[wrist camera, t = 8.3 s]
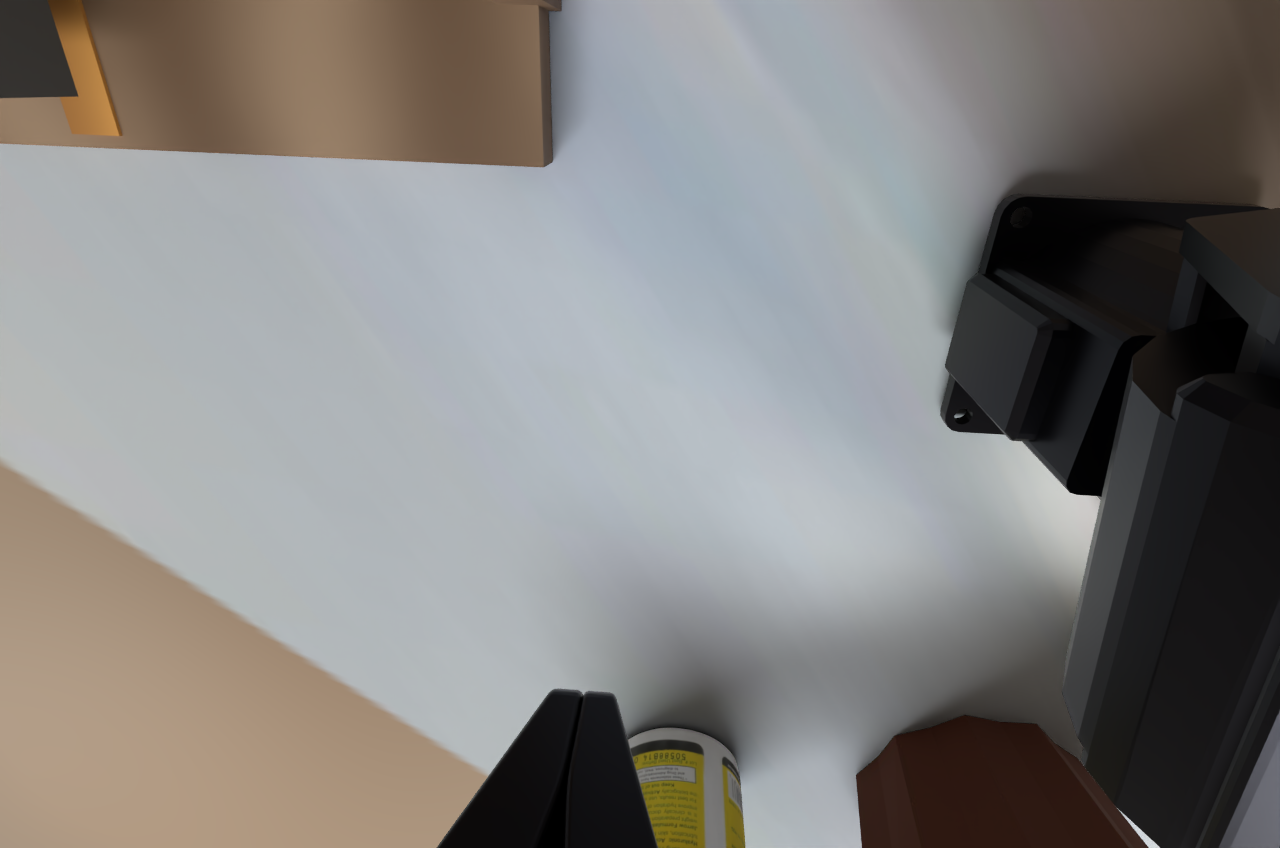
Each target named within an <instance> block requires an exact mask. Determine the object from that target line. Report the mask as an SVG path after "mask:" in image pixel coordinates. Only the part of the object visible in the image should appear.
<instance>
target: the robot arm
mask: <svg viewBox="0 0 1280 848" xmlns="http://www.w3.org/2000/svg"><path fill="white" fill-rule="evenodd" d="M1021 207H1023V208H1024V209H1025V216H1024V217H1023V219H1022V221H1020V222H1019V223H1018V224H1015V225H1012V224H1011V216H1012V214H1013V212H1014V211H1015V210H1017V209H1018V208H1021ZM945 368H946V369H947V370H948V372H949V373H950V377H949V381H948V384H947V388H946V391H945V395H944V399H943V402H942V406H941V413H940V415H941V418H942V420H943V421H944V423H945V424H946V425H947V427H949V428H950V429H951V430H953V431H957V432H970V433H987V434H1004V435H1006V436H1007V437H1008V438H1009V439H1010V440H1012V441H1022V442H1023V443H1024V444H1025V445H1026V446H1027V447H1028V448H1029V449H1030V450H1031V452H1032V453H1033V454H1034V455H1035V456H1036V457H1037V458H1038V459H1039V460H1040V461H1041V462H1042V463H1043V464H1044V465H1045V466H1046V468H1047V469H1048V470H1049V471H1050V472H1051V473H1052V474H1053V475H1054V476H1055V477H1056V478H1057V479H1058V480H1059V481H1060V482H1061V484H1062V485H1063V486H1064V487H1065V488H1066V489H1067V490H1068V491H1069V492H1070V493H1073V494H1076V495H1091V496H1097V497H1098V498H1099V499H1100V500H1101V501H1100V506H1099V510H1098V515H1097V519H1096V524H1095V528H1094V533H1093V537H1092V542H1091V546H1090V551H1089V555H1088V560H1087V564H1086V569H1085V573H1084V578H1083V582H1082V587H1081V592H1080V596H1079V601H1078V605H1077V610H1076V614H1075V619H1074V623H1073V628H1072V632H1071V637H1070V641H1069V646H1068V650H1067V655H1066V662H1065V671H1064V680H1063V689H1062V694H1063V697H1064V700H1065V702H1066V705H1067V708H1068V711H1069V714H1070V717H1071V720H1072V722H1073V725H1074V728H1075V731H1076V734H1077V737H1078V739H1079V740H1080V742H1081V744H1082V745H1083V747H1084V749H1083V753H1082V758H1081V759H1082V761H1083V764H1084V766H1085V768H1086V769H1087V771H1088V772H1089V773H1090V774H1091V776H1092V777H1093V778H1094V780H1095V781H1096V782H1097V783H1098V785H1099V786H1100V787H1101V788H1102V790H1103V791H1104V792H1105V794H1106V795H1107V796H1108V797H1109V799H1110V800H1111V801H1112V803H1113V804H1114V805H1115V806H1116V807H1117V808H1118V809H1119V810H1120V811H1121V812H1122V813H1124V814H1125V815H1126V816H1127V817H1128V818H1129V819H1130V820H1131V821H1132V822H1133V823H1134V824H1135V825H1137V826H1138V827H1139V828H1140V829H1141V830H1142V831H1143V832H1144V833H1145V834H1146V835H1147V836H1148V837H1150V838H1151V839H1152V840H1153V841H1154V842H1155V843H1156V844H1157V845H1158V846H1159V847H1160V848H1280V208H1274V209H1268V208H1265V207H1261V206H1256V205H1251V204H1237V203H1214V202H1191V201H1169V200H1146V199H1123V198H1101V197H1078V196H1055V195H1033V194H1017V195H1011V196H1009V197H1008V198H1006V199H1004V200H1003V201H1002V202H1001V203H1000V204H999V205H998V206H997V209H996V211H995V213H994V216H993V219H992V223H991V227H990V230H989V234H988V238H987V241H986V245H985V249H984V252H983V256H982V260H981V263H980V267H979V271H978V273H977V274H976V275H974V276H973V277H972V278H971V279H970V280H969V281H968V282H967V285H966V288H965V292H964V296H963V300H962V303H961V307H960V311H959V315H958V318H957V322H956V326H955V330H954V333H953V337H952V341H951V345H950V348H949V352H948V356H947V359H946V363H945ZM964 408H967V412H966V414H965V415H964V416H962V417H960V418H954V415H955V413H956V412H957V411H958V410H960V409H964ZM437 848H658V845H657V841H656V838H655V834H654V831H653V827H652V824H651V820H650V817H649V813H648V810H647V806H646V802H645V799H644V795H643V792H642V788H641V785H640V781H639V778H638V774H637V770H636V767H635V763H634V760H633V756H632V753H631V749H630V746H629V742H628V738H627V735H626V731H625V728H624V724H623V721H622V717H621V714H620V710H619V706H618V703H617V699H616V697H615V695H614V694H612V693H608V692H595V691H588V692H586V693H585V694H584V695H583V694H582V692H580V691H578V690H568V689H554V690H552V691H551V692H550V693H549V694H548V695H547V696H546V698H545V699H544V700H543V702H542V703H541V704H540V706H539V707H538V709H537V710H536V711H535V713H534V714H533V715H532V717H531V718H530V720H529V721H528V722H527V724H526V725H525V726H524V728H523V729H522V731H521V732H520V733H519V735H518V736H517V738H516V739H515V740H514V742H513V743H512V744H511V746H510V747H509V749H508V750H507V751H506V753H505V754H504V755H503V757H502V758H501V760H500V761H499V762H498V764H497V765H496V767H495V768H494V769H493V771H492V772H491V773H490V775H489V776H488V778H487V779H486V780H485V782H484V783H483V785H482V786H481V787H480V789H479V790H478V791H477V793H476V794H475V795H474V797H473V798H472V800H471V801H470V802H469V804H468V805H467V807H466V808H465V809H464V811H463V812H462V813H461V815H460V816H459V818H458V819H457V820H456V822H455V823H454V824H453V826H452V827H451V829H450V830H449V831H448V833H447V834H446V836H445V837H444V839H443V840H442V841H441V842H440V844H439V845H438V847H437Z"/></svg>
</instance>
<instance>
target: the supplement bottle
mask: <svg viewBox="0 0 1280 848" xmlns="http://www.w3.org/2000/svg"><path fill="white" fill-rule="evenodd" d="M628 742H629V746H630V749H631V753H632V756H633V760H634V763H635V767H636V770H637V774H638V778H639V781H640V785H641V788H642V792H643V795H644V799H645V802H646V806H647V810H648V813H649V817H650V820H651V824H652V827H653V831H654V834H655V838H656V841H657V845H658V848H745V835H744V823H743V810H742V794H741V784H740V775H739V769H738V766H737V763H736V760H735V758H734V757H733V755H732V753H731V752H730V751H729V750H728V749H727V748H726V747H725V746H724V745H723V744H721V743H720V742H719V741H717V740H715V739H714V738H712V737H710V736H707V735H705V734H703V733H700V732H696V731H693V730H688V729H681V728H658V729H653V730H649V731H646V732H643V733H640V734H638V735H635V736H634V737H632V738H630V739H629V740H628Z"/></svg>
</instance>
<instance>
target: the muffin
mask: <svg viewBox="0 0 1280 848" xmlns="http://www.w3.org/2000/svg"><path fill="white" fill-rule="evenodd" d="M856 780H857V792H858V804H859V817H860V829H861V841H862V848H1148V846H1147V845H1146V844H1145V843H1144V841H1143V840H1142V839H1141V838H1140V836H1139V835H1138V834H1137V833H1136V831H1135V830H1134V829H1133V828H1132V826H1131V825H1130V824H1129V823H1128V821H1127V820H1126V819H1125V818H1124V816H1123V815H1122V814H1121V813H1120V811H1119V810H1118V809H1117V808H1116V806H1115V805H1114V804H1113V803H1112V801H1111V800H1110V799H1109V797H1108V796H1107V795H1106V794H1105V792H1104V791H1103V790H1102V789H1101V787H1100V786H1099V785H1098V784H1097V782H1096V781H1095V780H1094V779H1093V777H1092V776H1091V775H1090V774H1089V772H1088V771H1087V770H1086V769H1085V767H1084V766H1083V765H1082V763H1081V762H1080V761H1079V760H1078V759H1077V758H1076V757H1074V756H1073V755H1071V754H1070V753H1068V752H1067V751H1065V750H1064V749H1062V748H1061V747H1060V746H1058V745H1057V744H1055V743H1054V742H1053V741H1052V740H1051V739H1050V738H1049V737H1048V736H1047V735H1046V734H1045V732H1044V731H1043V730H1042V729H1041V728H1040V727H1039V726H1038V725H1037V724H1029V723H1012V722H998V721H993V720H988V719H983V718H977V717H972V716H967V715H963V716H961V717H958V718H955V719H952V720H950V721H947V722H944V723H941V724H939V725H936V726H933V727H930V728H926V729H922V730H918V731H913V732H909V733H905V734H900V735H896V736H894V737H893V738H892V740H891V741H890V742H889V743H888V745H887V746H886V747H885V748H884V750H883V751H882V752H881V753H880V755H879V756H878V757H877V758H876V759H875V760H874V761H872V762H871V763H870V764H869V765H868V766H866V767H865V768H864V769H863V770H862V771H861V772H859V773H858V774H857V775H856Z"/></svg>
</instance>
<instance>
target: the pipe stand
mask: <svg viewBox="0 0 1280 848" xmlns="http://www.w3.org/2000/svg"><path fill="white" fill-rule="evenodd" d="M48 3H49V6H50V9H51V12H52V16H53V19H54V22H55V25H56V28H57V31H58V34H59V37H60V40H61V43H62V47H63V50H64V53H65V56H66V59H67V62H68V65H69V68H70V71H71V74H72V78H73V81H74V84H75V87H76V90H77V93H78V96H79V97H33V98H0V143H2V144H25V145H47V146H70V147H93V148H116V149H139V150H162V151H185V152H207V153H230V154H253V155H276V156H299V157H322V158H344V159H367V160H390V161H413V162H436V163H459V164H481V165H504V166H527V167H545V166H547V165H548V164H550V163H552V162H553V157H552V118H551V79H550V40H549V11H561V0H48Z"/></svg>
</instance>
